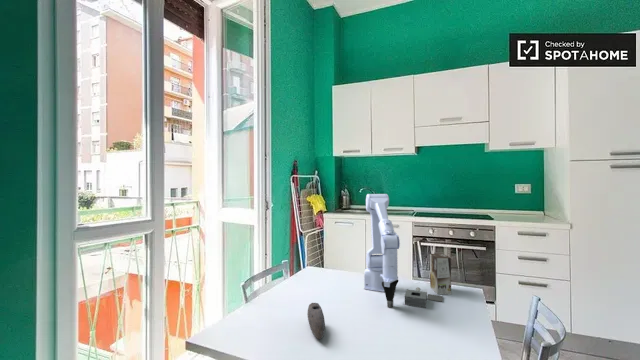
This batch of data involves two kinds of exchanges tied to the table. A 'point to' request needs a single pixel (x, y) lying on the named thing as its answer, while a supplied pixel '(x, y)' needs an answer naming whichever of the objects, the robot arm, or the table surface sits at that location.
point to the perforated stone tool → (316, 320)
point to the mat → (435, 298)
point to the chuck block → (416, 298)
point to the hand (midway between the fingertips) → (390, 299)
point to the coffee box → (440, 273)
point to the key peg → (390, 304)
